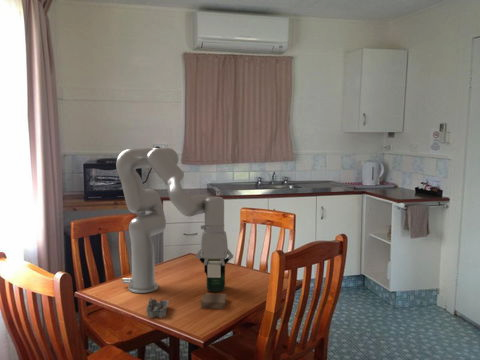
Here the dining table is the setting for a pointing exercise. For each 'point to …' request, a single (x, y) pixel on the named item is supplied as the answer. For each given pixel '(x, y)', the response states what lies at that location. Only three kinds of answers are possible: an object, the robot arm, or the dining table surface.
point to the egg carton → (157, 308)
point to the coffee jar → (216, 281)
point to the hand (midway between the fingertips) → (214, 274)
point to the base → (213, 301)
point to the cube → (214, 269)
